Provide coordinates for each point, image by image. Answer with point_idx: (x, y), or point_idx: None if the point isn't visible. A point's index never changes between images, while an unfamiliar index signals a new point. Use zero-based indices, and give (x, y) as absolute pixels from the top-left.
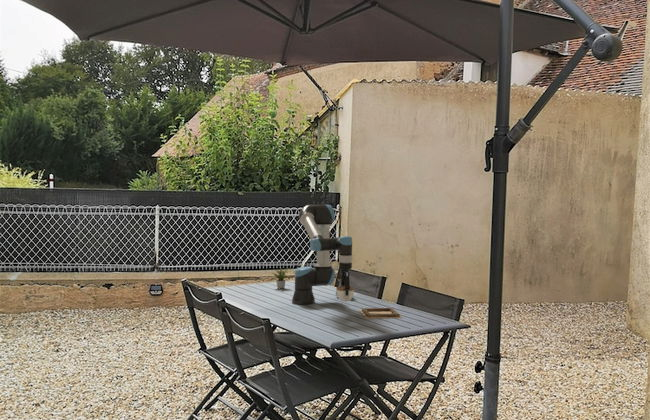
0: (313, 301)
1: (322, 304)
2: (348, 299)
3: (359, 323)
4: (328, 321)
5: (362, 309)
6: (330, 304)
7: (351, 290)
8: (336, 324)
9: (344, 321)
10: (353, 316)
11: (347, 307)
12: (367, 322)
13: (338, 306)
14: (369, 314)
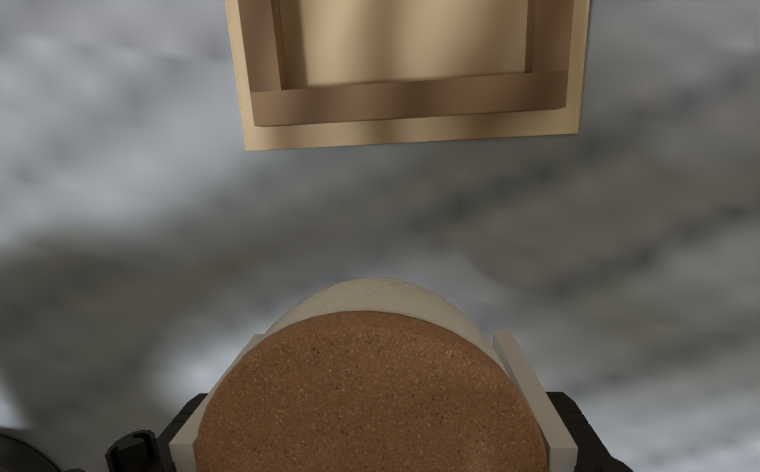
0: (11, 455)
1: (44, 393)
2: (514, 346)
3: (747, 211)
4: (611, 421)
5: (290, 124)
6: (32, 342)
7: (509, 379)
8: (726, 384)
9: (639, 318)
10: (467, 226)
11: (120, 231)
12: (730, 135)
13: (93, 295)
14: (543, 84)
